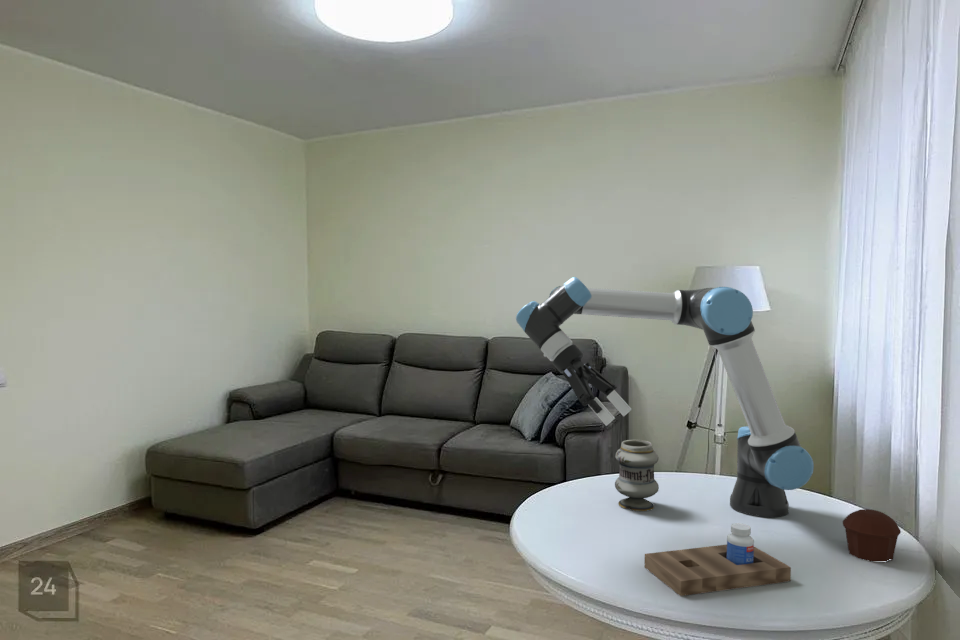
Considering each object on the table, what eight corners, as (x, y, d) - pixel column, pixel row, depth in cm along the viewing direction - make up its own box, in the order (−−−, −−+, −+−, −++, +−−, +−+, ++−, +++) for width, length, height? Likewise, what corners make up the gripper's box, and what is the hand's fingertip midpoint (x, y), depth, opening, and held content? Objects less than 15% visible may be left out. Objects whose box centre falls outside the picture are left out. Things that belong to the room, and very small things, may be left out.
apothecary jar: (608, 507, 181) (609, 444, 180) (622, 496, 191) (623, 436, 191) (651, 515, 175) (651, 449, 174) (663, 503, 185) (664, 441, 184)
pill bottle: (750, 578, 136) (751, 532, 136) (723, 572, 139) (724, 527, 138) (755, 569, 141) (756, 525, 140) (729, 563, 144) (730, 520, 143)
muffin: (866, 566, 142) (868, 521, 142) (830, 547, 153) (831, 505, 153) (912, 562, 145) (913, 518, 144) (873, 543, 155) (874, 502, 155)
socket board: (746, 555, 148) (746, 542, 148) (790, 581, 135) (790, 567, 135) (644, 567, 141) (644, 553, 141) (680, 596, 128) (680, 581, 128)
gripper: (571, 358, 177) (624, 418, 170) (532, 367, 155) (591, 436, 148) (589, 340, 174) (644, 400, 167) (552, 346, 152) (614, 415, 145)
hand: (619, 417), depth 158 cm, fingers open, 13 cm apart
